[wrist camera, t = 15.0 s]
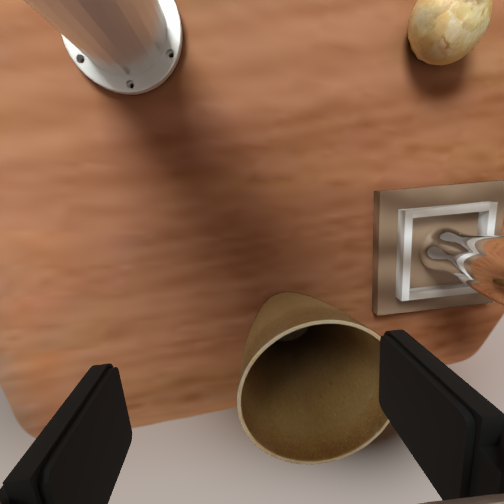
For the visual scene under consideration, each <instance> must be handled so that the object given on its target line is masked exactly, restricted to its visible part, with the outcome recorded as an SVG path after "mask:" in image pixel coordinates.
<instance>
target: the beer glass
mask: <svg viewBox="0 0 504 504" xmlns="http://www.w3.org/2000/svg"><path fill="white" fill-rule="evenodd" d="M420 259H421V261H422V263H423V265H424V266H425V267H427V268H428V269H430V270H432V271H436V272H441V273H447V274H450V275H452V276H454V277H456V278H457V279H459V280H461V281H462V282H463V283H465V284H466V285H468V286H469V287H471V288H472V289H474V290H475V291H477V292H478V293H480V294H482V295H483V296H485V297H487V298H488V299H490V300H493V301H495V302H497V303H499V304H501V305H503V306H504V235H469V234H465V233H463V232H461V231H459V230H456V229H454V228H451V227H440V228H437V229H435V230H433V231H431V232H430V233H429V234H428V235H427V236H426V237H425V238H424V240H423V241H422V243H421V246H420Z"/></svg>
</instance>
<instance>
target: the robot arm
mask: <svg viewBox="0 0 504 504" xmlns="http://www.w3.org/2000/svg"><path fill="white" fill-rule="evenodd" d="M24 1H25V2H26V3H27V4H28V5H30V6H31V7H32V8H33V9H34V10H35V11H36V12H37V13H39V14H40V15H41V16H42V17H43V18H44V19H45V20H46V21H47V22H49V23H50V24H51V25H52V26H53V27H54V28H55V29H56V30H57V31H59V32H60V33H61V36H62V39H63V42H64V45H65V47H66V49H67V51H68V53H69V55H70V57H71V58H72V60H73V61H74V63H75V64H76V66H77V67H78V68H79V69H80V70H81V71H82V72H83V73H84V74H85V75H86V76H87V77H88V78H90V79H91V80H92V81H93V82H95V83H96V84H98V85H100V86H101V87H103V88H105V89H107V90H110V91H112V92H115V93H120V94H125V95H137V94H141V93H146V92H149V91H151V90H153V89H155V88H157V87H158V86H160V85H161V84H162V83H164V82H165V81H166V80H167V78H168V77H169V76H170V75H171V74H172V72H173V71H174V69H175V67H176V65H177V63H178V60H179V57H180V54H181V50H182V42H183V34H182V24H181V19H180V15H179V12H178V9H177V5H176V3H175V1H174V0H24ZM170 55H174V56H173V57H172V58H170ZM83 60H85V61H84V63H82V61H83ZM131 85H134V87H133V88H131ZM379 404H380V407H381V409H382V411H383V412H384V414H385V415H386V417H387V418H388V420H389V421H390V422H391V424H392V426H393V427H394V429H395V430H396V431H397V433H398V434H399V436H400V437H401V439H402V440H403V442H404V443H405V445H406V446H407V448H408V449H409V451H410V452H411V454H412V455H413V457H414V458H415V460H416V461H417V462H418V464H419V466H420V467H421V468H422V470H423V471H424V473H425V474H426V476H427V477H428V479H429V480H430V482H431V483H432V485H433V486H434V488H435V489H436V490H437V492H438V494H439V495H440V497H441V498H442V501H435V502H427V503H421V504H504V414H503V413H502V412H501V411H500V410H499V409H498V408H496V407H495V406H494V405H493V404H492V403H490V402H489V401H488V400H487V399H486V398H484V397H483V396H482V395H481V394H479V393H478V392H477V391H476V390H475V389H474V388H472V387H471V386H470V385H469V384H468V383H466V382H465V381H464V380H463V379H462V378H460V377H459V376H458V375H457V374H456V373H454V372H453V371H452V370H451V369H450V368H448V367H447V366H446V365H445V364H444V363H443V362H441V361H440V360H439V359H438V358H437V357H435V356H434V355H433V354H432V353H431V352H429V351H428V350H427V349H426V348H425V347H423V346H422V345H421V344H420V343H419V342H417V341H416V340H415V339H414V338H413V337H411V336H410V335H409V334H408V333H407V332H405V331H404V330H393V331H386V332H385V334H384V336H381V338H380V364H379ZM131 440H132V429H131V425H130V420H129V416H128V411H127V406H126V402H125V397H124V393H123V388H122V384H121V379H120V375H119V370H118V368H116V367H114V368H113V365H112V364H102V365H94V366H92V367H91V368H90V369H89V370H88V372H87V373H86V374H85V376H84V377H83V378H82V379H81V381H80V382H79V383H78V385H77V386H76V387H75V389H74V390H73V391H72V393H71V394H70V395H69V397H68V398H67V399H66V400H65V402H64V403H63V404H62V406H61V407H60V408H59V410H58V411H57V412H56V414H55V415H54V416H53V417H52V419H51V420H50V421H49V423H48V424H47V425H46V427H45V428H44V429H43V431H42V432H41V433H40V435H39V436H38V437H37V438H36V440H35V441H34V442H33V444H32V445H31V446H30V448H29V449H28V450H27V452H26V453H25V454H24V456H23V457H22V458H21V459H20V461H19V462H18V463H17V465H16V466H15V467H14V469H13V470H12V471H11V473H10V474H9V475H8V477H7V478H6V479H5V480H4V482H3V486H2V488H1V489H0V504H108V502H109V499H110V496H111V494H112V491H113V489H114V486H115V483H116V481H117V478H118V476H119V473H120V470H121V468H122V465H123V463H124V460H125V457H126V454H127V452H128V449H129V447H130V444H131Z"/></svg>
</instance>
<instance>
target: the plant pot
mask: <svg viewBox="0 0 504 504" xmlns="http://www.w3.org/2000/svg"><path fill="white" fill-rule="evenodd" d="M380 338H381V337H380V336H379V335H377V334H376V333H375V332H373V331H372V330H370V329H369V328H367V327H366V326H364V325H363V324H361V323H360V322H358V321H357V320H355V319H354V318H352V317H351V316H349V315H347V314H346V313H344V312H342V311H341V310H339V309H337V308H335V307H333V306H332V305H330V304H328V303H325V302H323V301H321V300H318V299H316V298H313V297H310V296H307V295H303V294H299V293H292V292H283V293H279V294H276V295H274V296H272V297H270V298H269V299H268V300H267V301H266V302H265V303H264V305H263V306H262V307H261V309H260V310H259V312H258V314H257V316H256V318H255V320H254V322H253V324H252V327H251V330H250V332H249V335H248V339H247V342H246V346H245V350H244V353H243V358H242V363H241V369H240V376H239V384H238V393H237V410H238V415H239V418H240V422H241V425H242V427H243V429H244V431H245V432H246V434H247V435H248V437H249V438H250V439H251V440H252V442H253V443H254V444H255V445H256V446H257V447H259V448H260V449H261V450H262V451H264V452H265V453H267V454H269V455H271V456H273V457H275V458H277V459H280V460H283V461H286V462H291V463H296V464H320V463H327V462H332V461H335V460H339V459H342V458H344V457H346V456H349V455H351V454H353V453H355V452H357V451H359V450H360V449H362V448H364V447H365V446H367V445H368V444H369V443H370V442H372V441H373V440H374V439H375V438H376V437H377V436H378V435H379V434H380V433H381V432H382V431H383V430H384V428H385V427H386V426H387V424H388V423H389V422H390V421H389V420H388V418H387V417H386V415H385V414H384V412H383V411H382V409H381V407H380V404H379V364H380Z"/></svg>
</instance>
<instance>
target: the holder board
mask: <svg viewBox="0 0 504 504" xmlns="http://www.w3.org/2000/svg"><path fill="white" fill-rule="evenodd" d="M503 216H504V180H495V181H484V182H473V183H462V184H450V185H439V186H428V187H417V188H405V189H394V190H383V191H374V234H373V296H372V311H373V312H374V313H375V314H376V315H377V316H378V315H387V314H395V313H404V312H413V311H422V310H431V309H440V308H449V307H457V306H466V305H475V304H484V303H493V300H490V299H488V298H487V297H485V296H483V295H482V294H480V293H478V292H477V291H475V290H474V289H472V288H471V287H469V286H468V285H466V284H465V283H463V282H462V281H461V280H459V279H457V278H456V277H454V276H452V275H450V274H447V273H441V272H436V271H432V270H430V269H428V268H427V267H425V266H424V265H423V263H422V261H421V259H420V246H421V243H422V241H423V240H424V238H425V237H426V236H427V235H428V234H429V233H430V232H431V231H433V230H435V229H437V228H440V227H451V228H454V229H456V230H459V231H461V232H463V233H465V234H469V235H501V232H502V224H503Z"/></svg>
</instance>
